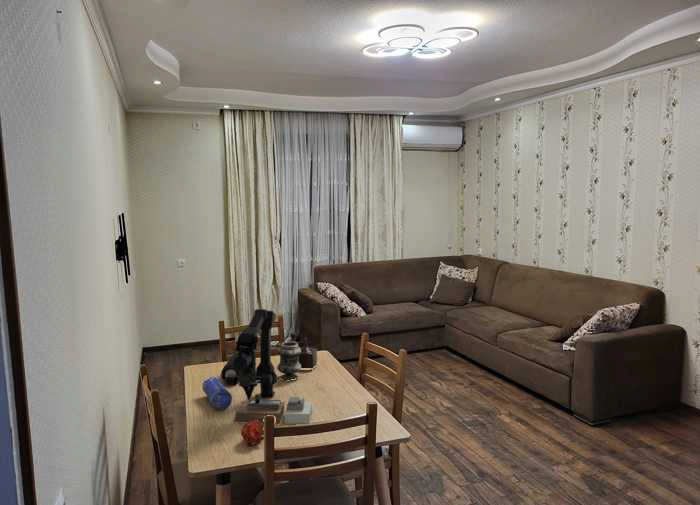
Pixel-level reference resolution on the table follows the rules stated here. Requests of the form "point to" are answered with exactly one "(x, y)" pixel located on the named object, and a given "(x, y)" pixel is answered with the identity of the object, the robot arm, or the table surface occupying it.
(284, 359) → the apothecary jar
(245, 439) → the dragon fruit
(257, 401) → the lock bolt
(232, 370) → the portable speaker
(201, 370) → the table surface
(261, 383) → the robot arm
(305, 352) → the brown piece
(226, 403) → the pencil case
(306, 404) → the block
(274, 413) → the door board
